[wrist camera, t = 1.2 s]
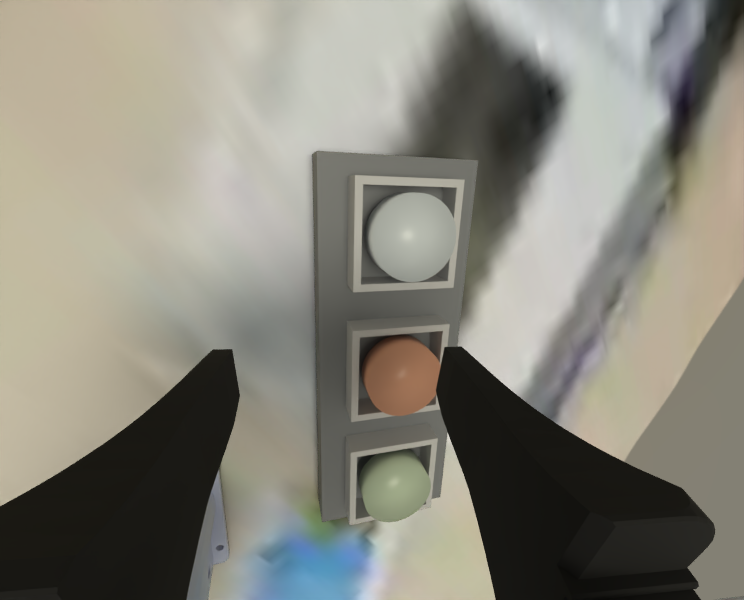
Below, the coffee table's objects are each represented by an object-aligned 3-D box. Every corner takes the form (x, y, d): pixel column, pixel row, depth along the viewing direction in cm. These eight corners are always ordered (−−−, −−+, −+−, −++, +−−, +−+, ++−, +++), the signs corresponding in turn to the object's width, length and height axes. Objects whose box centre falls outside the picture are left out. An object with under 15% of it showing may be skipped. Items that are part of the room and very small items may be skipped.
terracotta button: (427, 396, 23) (438, 410, 21) (360, 404, 22) (367, 420, 20) (433, 332, 21) (445, 343, 20) (362, 337, 20) (369, 349, 19)
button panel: (429, 477, 29) (449, 514, 26) (318, 498, 27) (325, 543, 23) (460, 162, 22) (494, 158, 18) (312, 154, 19) (321, 147, 16)
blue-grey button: (438, 273, 20) (451, 280, 19) (363, 276, 19) (371, 283, 18) (445, 193, 19) (460, 193, 17) (365, 190, 18) (374, 191, 16)
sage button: (418, 494, 25) (428, 514, 24) (358, 507, 24) (363, 528, 22) (423, 442, 24) (433, 459, 22) (359, 453, 23) (365, 472, 21)
